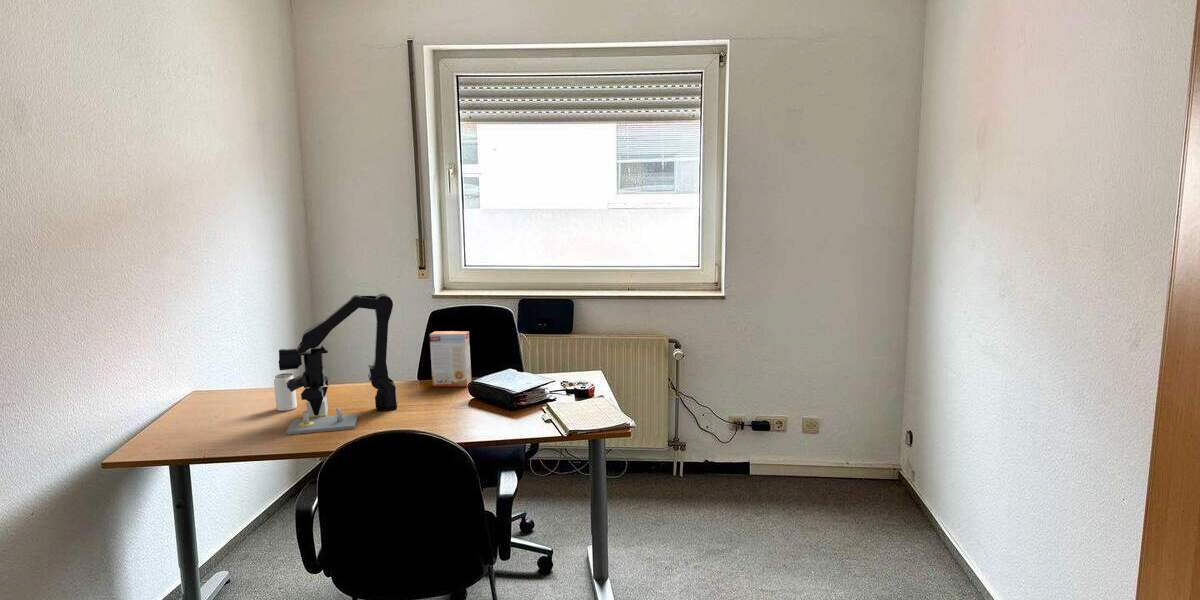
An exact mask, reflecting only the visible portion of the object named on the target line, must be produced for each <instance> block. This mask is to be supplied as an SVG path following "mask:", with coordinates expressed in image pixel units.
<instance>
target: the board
mask: <svg viewBox="0 0 1200 600" xmlns="http://www.w3.org/2000/svg"><path fill="white" fill-rule="evenodd" d="M342 409H343V408H342V407H341V408H339V407H338V408H336V415H331V416H330V415H329V416H327V417H318V418H309V415H308V411H307V410H305V411H303V412H302V417H303V418H298V419H292V421H291V423H290V424H289V426H288V427H287V430H286V431H285V436H290V435H289V434H293V435H301V434H300V433H303V434H311V432H313V433H322V432H331V431H332V432H333V431H341V430H342V431H343V430H352V429H353V430H354V429H356V425H357V421H358V419H359V413H352V414H343V410H342Z"/></svg>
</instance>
